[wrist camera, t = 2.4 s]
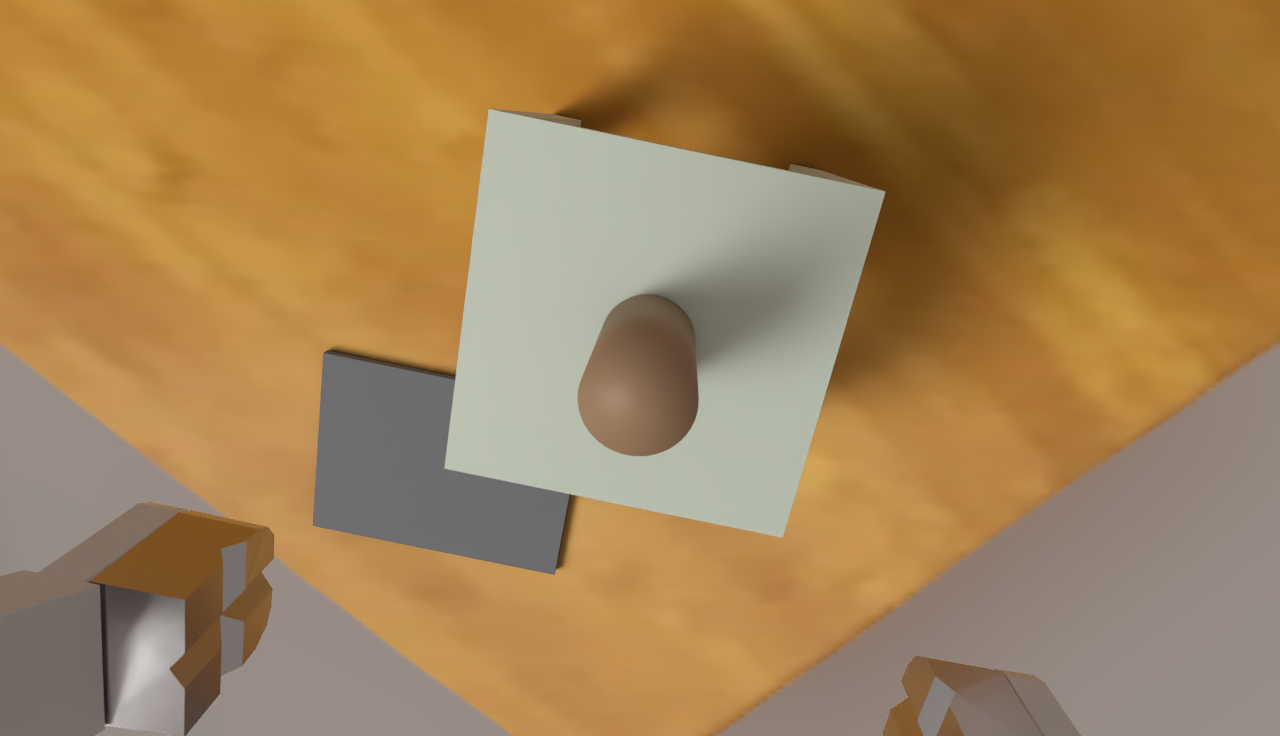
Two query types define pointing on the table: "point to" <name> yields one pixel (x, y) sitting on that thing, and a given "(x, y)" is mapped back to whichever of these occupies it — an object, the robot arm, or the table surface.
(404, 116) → the table surface
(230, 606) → the robot arm
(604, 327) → the cover
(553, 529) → the mat
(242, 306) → the table surface
